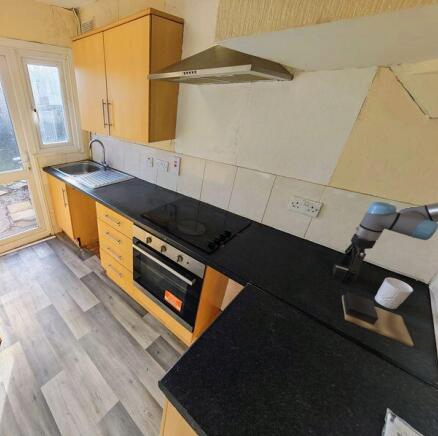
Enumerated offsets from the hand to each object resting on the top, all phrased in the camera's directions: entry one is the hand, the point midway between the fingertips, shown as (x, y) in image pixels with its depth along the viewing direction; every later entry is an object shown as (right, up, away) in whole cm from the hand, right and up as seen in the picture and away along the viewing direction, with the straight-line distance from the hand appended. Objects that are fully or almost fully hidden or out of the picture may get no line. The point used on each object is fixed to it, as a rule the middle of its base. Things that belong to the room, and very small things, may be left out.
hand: (343, 274), depth 107 cm
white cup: (+5, -8, -14) cm, 17 cm away
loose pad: (0, 0, 0) cm, 0 cm away
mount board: (-8, -11, -22) cm, 26 cm away
